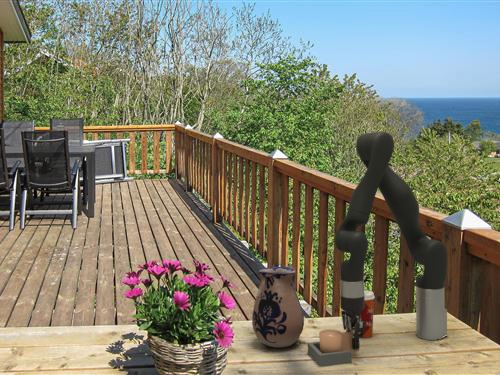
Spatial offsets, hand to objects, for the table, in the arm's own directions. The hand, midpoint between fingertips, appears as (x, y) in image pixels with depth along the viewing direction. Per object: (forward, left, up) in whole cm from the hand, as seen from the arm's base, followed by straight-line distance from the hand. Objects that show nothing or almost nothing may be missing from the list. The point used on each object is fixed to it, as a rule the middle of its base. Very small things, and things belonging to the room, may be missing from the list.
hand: (353, 346), depth 186 cm
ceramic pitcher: (+18, -19, -3) cm, 27 cm away
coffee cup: (-11, -16, -3) cm, 19 cm away
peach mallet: (+5, 0, -3) cm, 6 cm away
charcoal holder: (+7, 0, -3) cm, 8 cm away
